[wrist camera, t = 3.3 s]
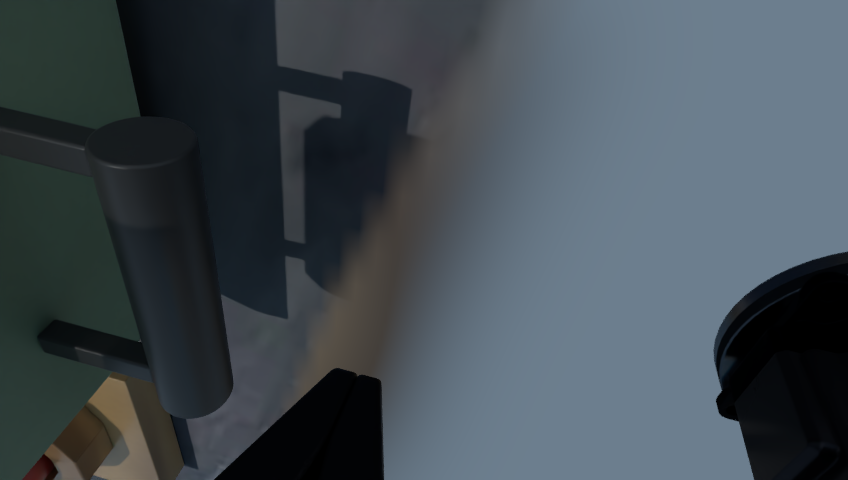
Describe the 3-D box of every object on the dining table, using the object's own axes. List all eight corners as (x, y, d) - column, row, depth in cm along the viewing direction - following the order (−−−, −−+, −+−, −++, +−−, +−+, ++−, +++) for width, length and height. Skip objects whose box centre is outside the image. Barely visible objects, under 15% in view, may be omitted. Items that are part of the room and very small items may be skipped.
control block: (152, 348, 22) (91, 423, 19) (184, 464, 28) (141, 535, 25) (-70, 287, 23) (-157, 350, 20) (5, 412, 29) (-55, 474, 26)
